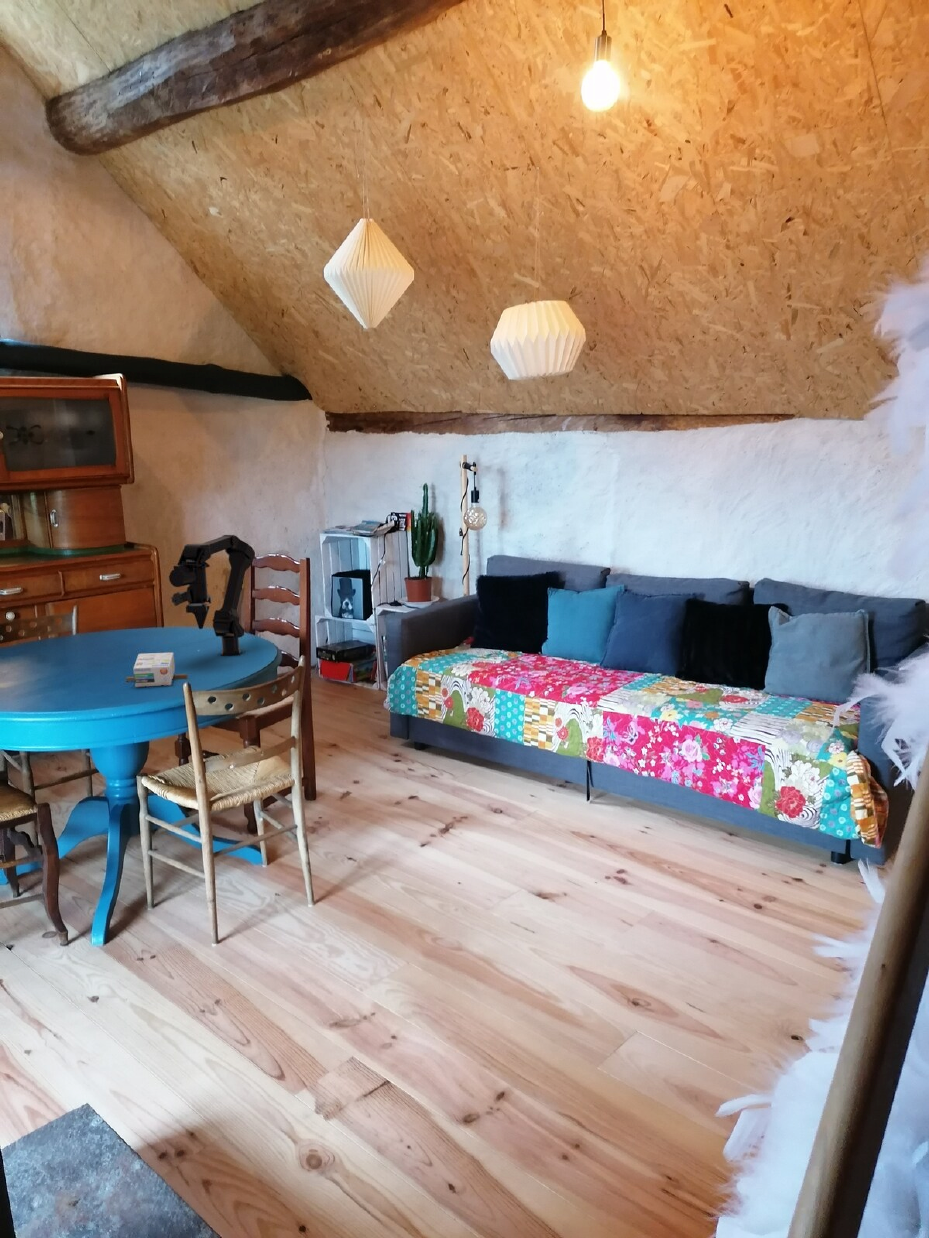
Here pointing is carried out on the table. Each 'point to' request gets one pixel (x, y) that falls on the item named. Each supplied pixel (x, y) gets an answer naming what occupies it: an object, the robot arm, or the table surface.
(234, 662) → the table surface
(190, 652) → the table surface
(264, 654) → the table surface
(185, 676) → the ledge strip
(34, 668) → the table surface
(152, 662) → the light bulb box
